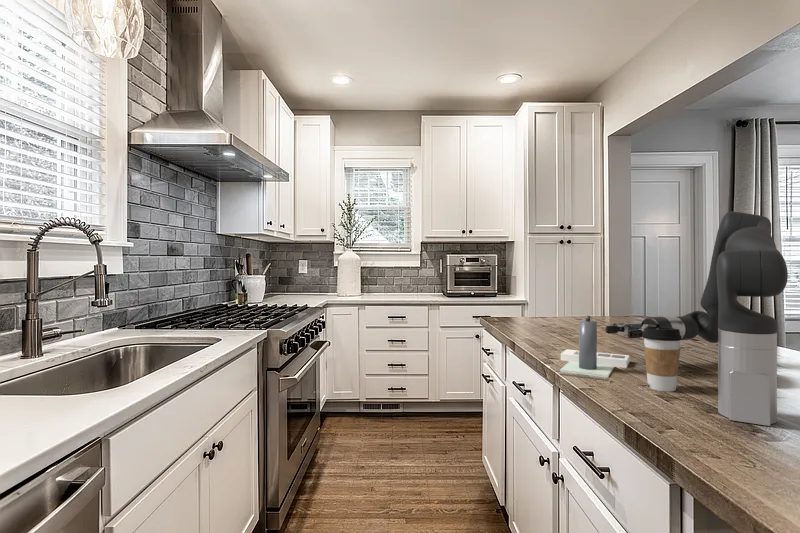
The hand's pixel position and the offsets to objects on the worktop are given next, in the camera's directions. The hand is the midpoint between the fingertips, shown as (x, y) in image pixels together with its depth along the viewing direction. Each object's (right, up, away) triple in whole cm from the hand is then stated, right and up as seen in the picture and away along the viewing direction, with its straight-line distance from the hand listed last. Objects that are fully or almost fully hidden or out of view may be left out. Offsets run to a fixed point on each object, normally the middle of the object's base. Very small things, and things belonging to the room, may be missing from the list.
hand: (617, 332), depth 124 cm
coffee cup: (+2, -11, -17) cm, 21 cm away
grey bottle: (-9, -10, -3) cm, 14 cm away
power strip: (-1, -11, +6) cm, 12 cm away
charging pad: (-10, -11, -3) cm, 15 cm away
